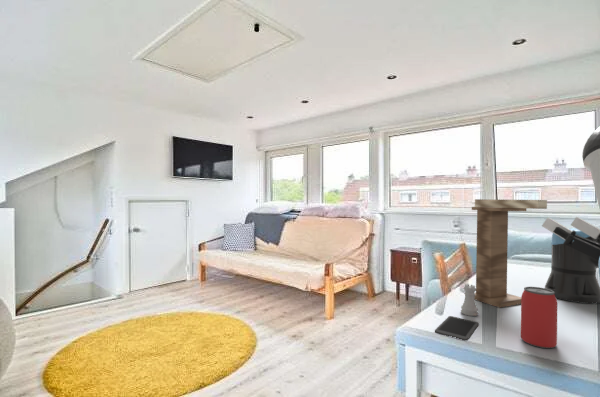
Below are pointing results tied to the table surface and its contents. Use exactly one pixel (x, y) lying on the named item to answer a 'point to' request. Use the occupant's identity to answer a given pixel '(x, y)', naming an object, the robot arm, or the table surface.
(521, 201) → the ash bar
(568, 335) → the table surface
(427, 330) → the table surface
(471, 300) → the rook chess piece
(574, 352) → the table surface
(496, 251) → the shelf stand
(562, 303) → the table surface
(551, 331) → the beer can
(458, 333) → the cell phone
